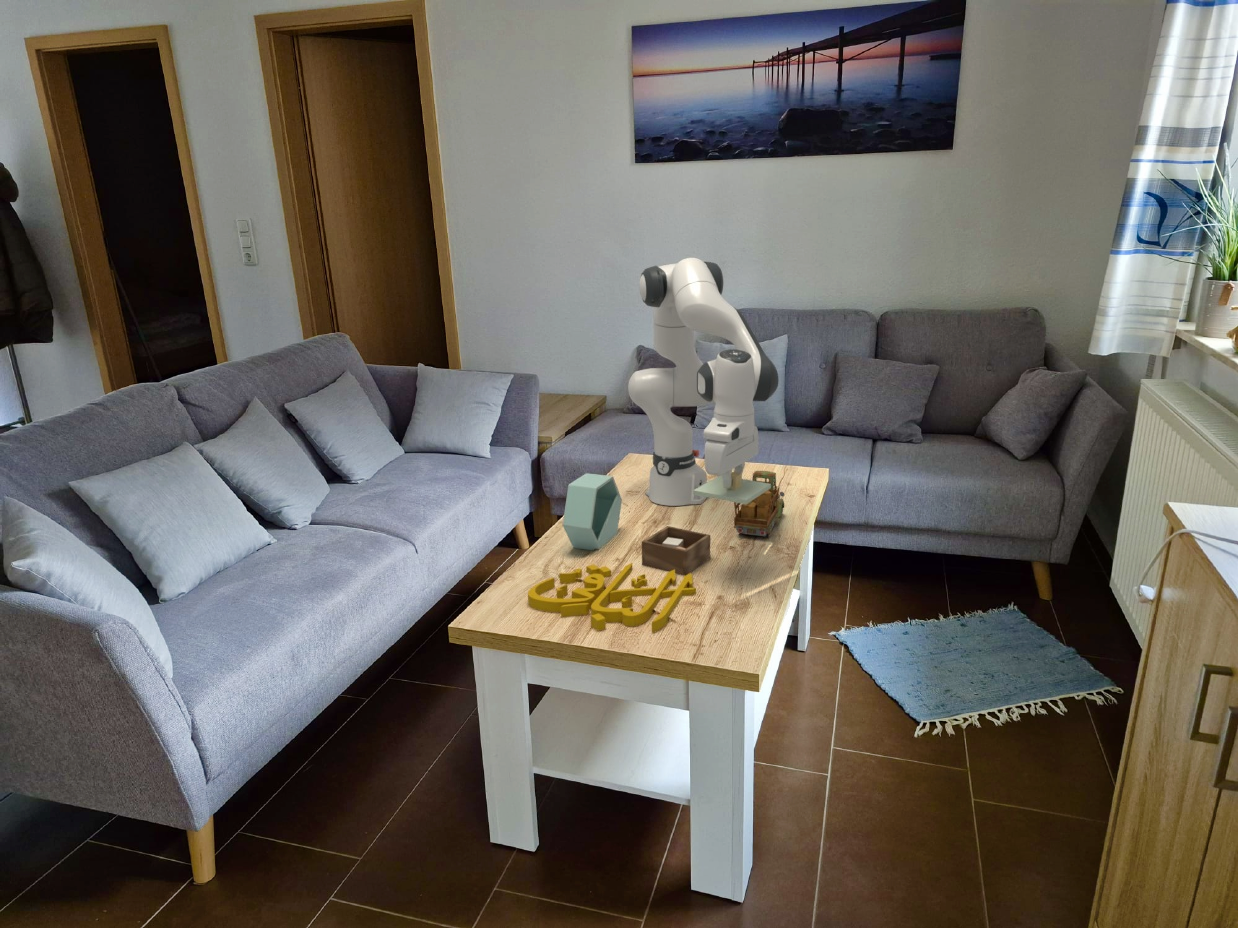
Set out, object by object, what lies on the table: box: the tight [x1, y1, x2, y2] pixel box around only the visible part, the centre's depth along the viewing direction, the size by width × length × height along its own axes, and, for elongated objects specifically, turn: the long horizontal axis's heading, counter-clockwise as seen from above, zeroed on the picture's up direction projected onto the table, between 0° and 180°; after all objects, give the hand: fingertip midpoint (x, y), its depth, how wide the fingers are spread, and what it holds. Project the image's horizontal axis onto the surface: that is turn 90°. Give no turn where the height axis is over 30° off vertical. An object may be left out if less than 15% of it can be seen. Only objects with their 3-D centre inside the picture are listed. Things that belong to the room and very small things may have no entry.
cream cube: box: [662, 537, 683, 548], centre depth 207 cm, size 4×4×4 cm
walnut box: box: [641, 525, 711, 577], centre depth 204 cm, size 12×12×7 cm
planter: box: [562, 472, 623, 551], centre depth 217 cm, size 17×8×21 cm
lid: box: [693, 471, 771, 505], centre depth 192 cm, size 13×13×4 cm
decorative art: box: [527, 562, 697, 633], centre depth 188 cm, size 34×3×30 cm
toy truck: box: [733, 470, 785, 539], centre depth 226 cm, size 11×25×15 cm, turn 159°
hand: (732, 484), depth 192 cm, fingers closed on lid, 3 cm apart
